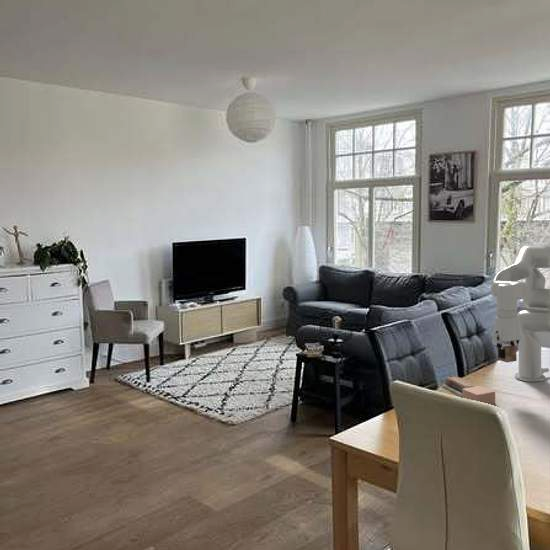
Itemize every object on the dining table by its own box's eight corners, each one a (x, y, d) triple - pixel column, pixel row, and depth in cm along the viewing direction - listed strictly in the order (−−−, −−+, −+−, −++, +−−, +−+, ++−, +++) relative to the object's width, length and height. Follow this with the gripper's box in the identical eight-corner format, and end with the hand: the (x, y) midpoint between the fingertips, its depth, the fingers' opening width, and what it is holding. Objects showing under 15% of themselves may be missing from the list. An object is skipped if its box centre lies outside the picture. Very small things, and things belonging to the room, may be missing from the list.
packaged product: (440, 377, 247) (460, 374, 249) (441, 387, 247) (460, 385, 249) (463, 388, 229) (484, 385, 231) (463, 399, 230) (484, 396, 232)
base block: (479, 397, 230) (479, 385, 230) (495, 403, 222) (495, 391, 221) (462, 400, 227) (462, 388, 227) (477, 407, 219) (477, 394, 218)
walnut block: (507, 358, 230) (507, 344, 229) (516, 360, 225) (516, 346, 225) (497, 359, 228) (497, 345, 228) (506, 362, 224) (506, 348, 223)
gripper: (516, 310, 231) (516, 352, 233) (483, 314, 225) (484, 358, 227) (530, 312, 224) (530, 356, 226) (496, 317, 218) (497, 362, 220)
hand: (507, 356), depth 227 cm, fingers closed on walnut block, 5 cm apart
